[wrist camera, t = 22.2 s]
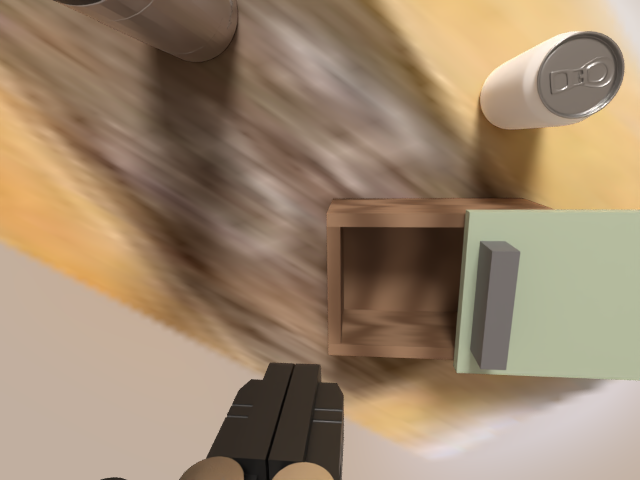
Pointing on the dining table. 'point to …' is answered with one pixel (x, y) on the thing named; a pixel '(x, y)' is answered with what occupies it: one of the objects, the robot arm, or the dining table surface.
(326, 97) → the dining table surface
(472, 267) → the lid
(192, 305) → the dining table surface
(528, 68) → the can
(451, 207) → the chest
